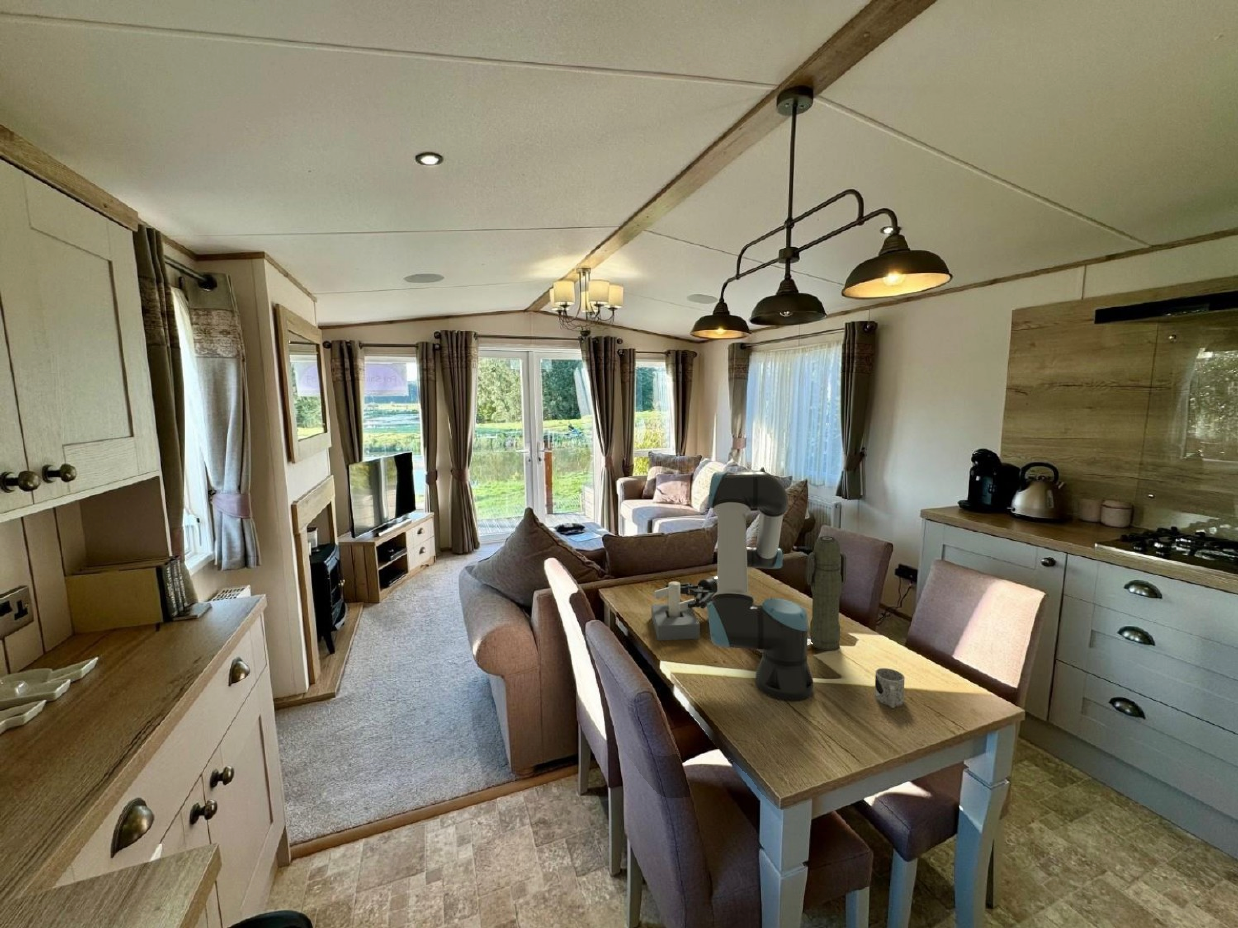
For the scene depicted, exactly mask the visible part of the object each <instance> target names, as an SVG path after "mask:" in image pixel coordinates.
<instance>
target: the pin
mask: <svg viewBox="0 0 1238 928" xmlns="http://www.w3.org/2000/svg"><path fill="white" fill-rule="evenodd" d="M668 584H669V596H668V604H669V618H674V617H680V611H679V603H681V594H680V582H679V581H670V582H668Z"/></svg>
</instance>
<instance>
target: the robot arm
mask: <svg viewBox="0 0 1238 928" xmlns="http://www.w3.org/2000/svg"><path fill="white" fill-rule="evenodd" d="M707 502H708V503H707V504H708V507H709V508H710V509H712V512H713V515H715V516H716V517H717V575H714V576H710V577H706V578H702V579H701V580H699V581H698V583H697V584H692V582H691V581H690V582H684V583H682V582H681V583H680V582H679V583H680V595H686V596H692V597H694V598H691V599H687V600H684V601H680V603H679V611H684V610H687V609H690V608H692V609H693V608H700V609H704V610H705V608H707V616H708V617H707V619H708V626H709V635H710V641H711V643H712V644H713V645H714V646H716V647H723V648H727V649H730V648H733V649H734V648H735V649H749V650H758V651H759V650H761V651H762V655H761V656H762V657H761V658H760V660H759V664H758V666H757V669H756V672H755V685H756V687H757V688H758V690H760V691H761V692H762V693H764V694H765V695H766V696H768V697H771V698H774V699H776V700H781V701H788V702H797V701H798V702H799V701H802V700H806V699H808V698H809V697H811V696H812V695H813V693H814V679H813V677H812V673H811V670H810V667H809V663H808V637H809V636H808V631H809V630H810V626H809V625H808V624H809V623H808V622H809V620H808V619H809V618H808V613H807V612H806V610H805V609H804V608H803V607H802V606H801V605H800V604H797V603H796V602H794V601H790V600H787V599H783V598H778V597H771V598H766V599H765V600H763V602H762V604H761V605H758V604H757V605H756V604H755V603H754V602H755V601H754V600H755V599H754V597H753V596H752V595H751V594H750V593H749V588H748V587H749V583H748V582H749V581H748V579H749V578H748V568H754V569H755V568H756V569H770V570H771V569H772V570H773V569H781V568H782V567H783V562H784V561H783V557H784V556H783V551H782V548H780V547H779V545H780V538H781V531H782V525H783V519H784V515H785V514H786V513H787V511H788V508H789V495H788V493H787V490H786V488H785V487H784V485H783V484H782V482H780V480H779V479H777V477H776V476H774V475H772V474H770V473H767V472H764V471H728V470H726V471H725V470H724V471H716V472H714V473H713V474H712V475H711V480H710V483H709V491H708V501H707ZM751 509H757V510H758V511H759V514H758V526H757V537H756V539H757V540H756V546H755V547H754V546H751V547H750V546H748V545H747V541H748V540H747V517H748V516H749V515H750V514H751V512H752V511H751ZM653 594H654V595H653V596H654V597H653V598H654V599H655V600H657V599H661V598H664V597H666V596H668V597H669V583H668V584H665V587H664V588H660V589H657V590H656V589H655V590H654V592H653Z"/></svg>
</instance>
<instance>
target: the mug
mask: <svg viewBox="0 0 1238 928" xmlns="http://www.w3.org/2000/svg"><path fill="white" fill-rule="evenodd" d="M874 675H875V681H874V697H875V699H876V701H878V702H879V703H880V704H883V705H886V706H889V707H890V708H892V709H895V708H896V707H901V706H903V704H904V695H905V676H904V675H903V673H902V672H900V671H898V670H895V669H892V668H888V667H887V668H886V667H880V668H878V669H876V670H875V674H874Z"/></svg>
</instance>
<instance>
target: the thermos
mask: <svg viewBox="0 0 1238 928" xmlns="http://www.w3.org/2000/svg"><path fill="white" fill-rule="evenodd" d="M813 547H814V548H813V551H812V552H810V553H808V555H807V559H806V560H807V565H806V567H807V568H806V580H807V581H806V582H807V585H808V586H811V587H810V588H811V593H812V601H811V602H812V603H811V605H812V606H811V607H812V608H811V611H812V613H811V620H810V623H809V636H810V640H811V642H812V643H813V646H812V647H814V648H815V649H819V650H821V651H825V652H827V651H828V652H832V651H836V650H838V649H839V648H840V640H841V624H840V621H839V620H840V619H839V618H840V596H841V594H842V586H843V585H844V584H846V580H847V579H846V578H847V576H846V575H847V556H846V555H845V554H844V553H843V552H842V551H841V546H840V543H839V540H838V539H837V538H836V537H833V536H827V535H824V536H819V537H817V539H816V540H815V543H814V546H813ZM813 562H814V563H813Z"/></svg>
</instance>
